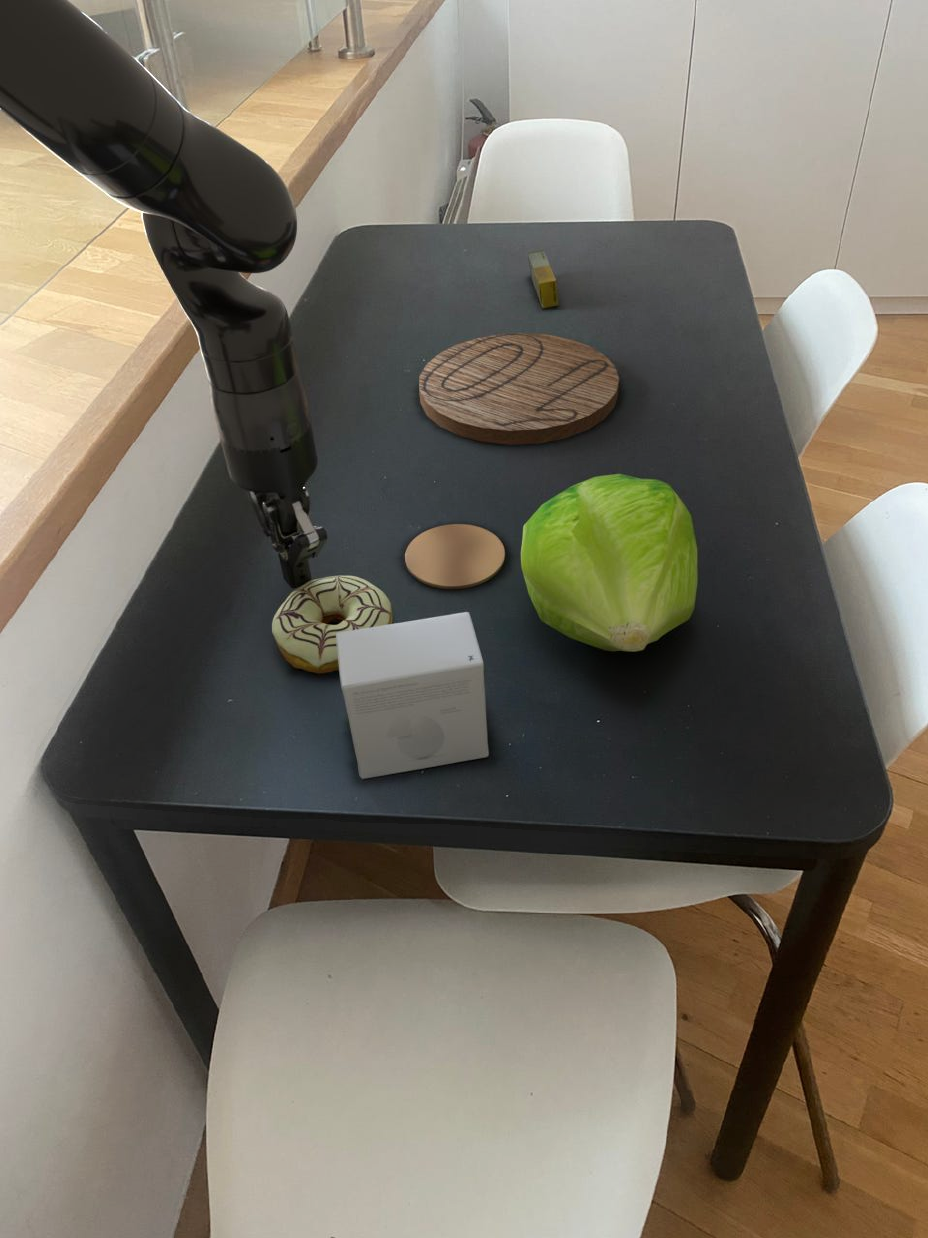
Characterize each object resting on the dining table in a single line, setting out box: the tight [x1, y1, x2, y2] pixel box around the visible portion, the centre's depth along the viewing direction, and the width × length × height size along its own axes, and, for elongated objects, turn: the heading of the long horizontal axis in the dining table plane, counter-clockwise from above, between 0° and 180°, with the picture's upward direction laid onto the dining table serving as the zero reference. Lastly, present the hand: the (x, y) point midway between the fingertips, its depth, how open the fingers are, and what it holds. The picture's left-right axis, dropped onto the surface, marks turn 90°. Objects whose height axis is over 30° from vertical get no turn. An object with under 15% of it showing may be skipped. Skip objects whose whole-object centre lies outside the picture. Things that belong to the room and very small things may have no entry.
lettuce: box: [520, 473, 699, 653], centre depth 79 cm, size 15×20×14 cm
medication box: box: [527, 250, 560, 309], centre depth 136 cm, size 12×3×4 cm, turn 5°
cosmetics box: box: [336, 611, 490, 780], centre depth 71 cm, size 10×6×10 cm, turn 100°
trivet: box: [418, 332, 620, 446], centre depth 116 cm, size 25×25×2 cm
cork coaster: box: [404, 523, 506, 590], centre depth 92 cm, size 10×10×1 cm
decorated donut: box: [271, 574, 394, 674], centre depth 83 cm, size 10×11×4 cm
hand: (298, 581), depth 87 cm, fingers closed
